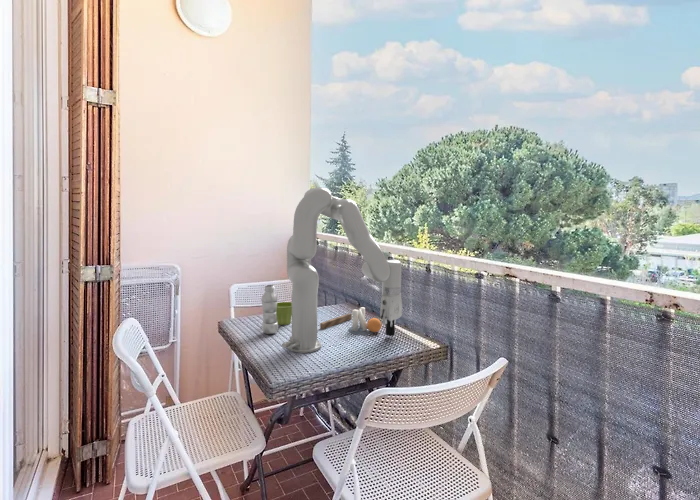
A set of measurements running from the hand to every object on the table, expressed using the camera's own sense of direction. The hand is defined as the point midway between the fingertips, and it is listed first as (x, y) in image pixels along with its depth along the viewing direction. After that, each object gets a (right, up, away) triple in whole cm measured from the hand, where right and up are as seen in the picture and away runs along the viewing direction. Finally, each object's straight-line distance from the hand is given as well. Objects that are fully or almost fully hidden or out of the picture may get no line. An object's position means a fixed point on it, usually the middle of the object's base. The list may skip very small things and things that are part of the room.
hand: (390, 334), depth 157 cm
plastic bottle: (-50, 0, +3) cm, 50 cm away
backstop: (-22, +1, +18) cm, 29 cm away
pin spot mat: (-11, 0, +9) cm, 14 cm away
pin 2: (-11, 0, +12) cm, 16 cm away
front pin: (-10, 0, +8) cm, 12 cm away
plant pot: (-46, +1, +17) cm, 49 cm away
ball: (-6, +3, +6) cm, 9 cm away
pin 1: (-14, 0, +8) cm, 16 cm away
